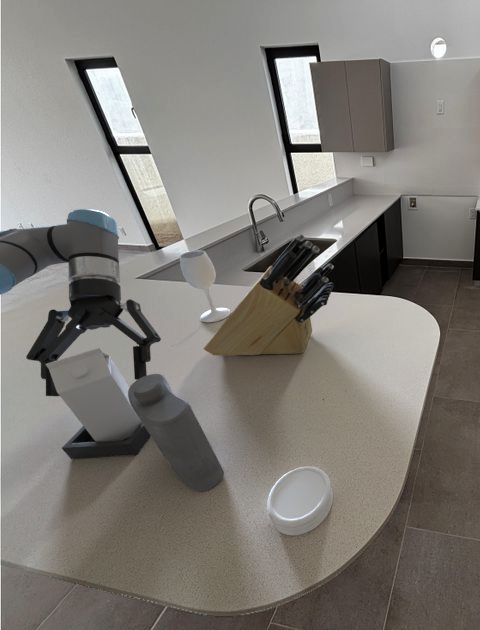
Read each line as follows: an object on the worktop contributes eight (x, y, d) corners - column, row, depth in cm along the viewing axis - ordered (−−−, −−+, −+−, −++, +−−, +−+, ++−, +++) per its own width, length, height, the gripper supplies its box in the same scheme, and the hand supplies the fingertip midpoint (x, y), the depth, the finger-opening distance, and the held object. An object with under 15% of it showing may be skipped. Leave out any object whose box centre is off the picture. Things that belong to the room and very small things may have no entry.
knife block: (338, 354, 90) (320, 245, 74) (206, 358, 89) (158, 247, 73) (344, 331, 100) (330, 230, 83) (225, 334, 98) (187, 231, 82)
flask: (161, 454, 64) (110, 375, 53) (193, 434, 68) (152, 357, 57) (194, 502, 56) (142, 421, 46) (229, 476, 60) (188, 396, 49)
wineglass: (197, 315, 108) (172, 253, 97) (226, 306, 113) (205, 246, 102) (204, 325, 102) (178, 262, 91) (234, 316, 107) (212, 254, 96)
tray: (70, 459, 63) (61, 448, 61) (115, 410, 73) (108, 400, 71) (137, 455, 64) (129, 444, 62) (172, 407, 74) (166, 397, 72)
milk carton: (101, 426, 68) (47, 354, 58) (143, 409, 72) (99, 339, 62) (101, 449, 64) (43, 375, 54) (146, 430, 68) (99, 357, 58)
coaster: (266, 494, 57) (261, 482, 55) (323, 467, 61) (320, 455, 60) (277, 550, 50) (272, 538, 48) (341, 515, 54) (339, 503, 52)
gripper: (174, 281, 74) (182, 374, 70) (34, 298, 68) (33, 403, 63) (157, 268, 67) (164, 371, 63) (-2, 286, 61) (-6, 403, 56)
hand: (98, 387), depth 63 cm, fingers open, 13 cm apart
